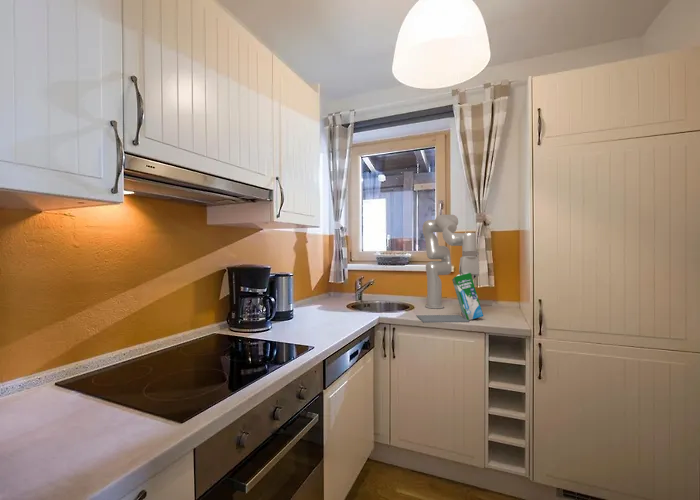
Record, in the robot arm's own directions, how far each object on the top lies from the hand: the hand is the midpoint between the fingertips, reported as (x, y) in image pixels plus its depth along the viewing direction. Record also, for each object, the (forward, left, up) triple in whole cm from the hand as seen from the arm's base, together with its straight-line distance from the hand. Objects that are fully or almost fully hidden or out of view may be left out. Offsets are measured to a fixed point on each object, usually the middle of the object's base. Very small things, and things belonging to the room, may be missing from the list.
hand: (469, 286), depth 181 cm
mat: (0, -16, -18) cm, 24 cm away
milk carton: (0, +2, -17) cm, 17 cm away
